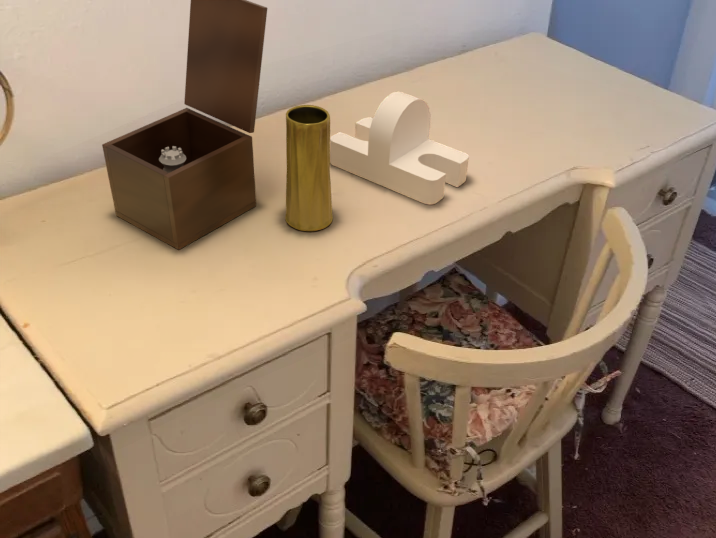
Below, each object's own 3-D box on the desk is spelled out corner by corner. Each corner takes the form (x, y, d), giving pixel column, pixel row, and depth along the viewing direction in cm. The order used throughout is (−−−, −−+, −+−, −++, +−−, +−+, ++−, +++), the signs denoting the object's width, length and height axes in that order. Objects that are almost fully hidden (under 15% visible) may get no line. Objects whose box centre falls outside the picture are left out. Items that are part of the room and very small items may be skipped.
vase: (322, 236, 105) (322, 130, 95) (277, 225, 106) (273, 120, 97) (339, 212, 109) (341, 108, 100) (296, 202, 111) (294, 99, 101)
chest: (178, 250, 102) (168, 177, 95) (115, 215, 106) (101, 144, 99) (256, 206, 110) (252, 136, 103) (194, 175, 114) (186, 107, 108)
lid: (263, 7, 94) (267, 7, 95) (191, -18, 99) (196, -18, 100) (249, 133, 102) (254, 132, 103) (184, 104, 107) (188, 103, 108)
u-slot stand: (431, 206, 112) (439, 130, 104) (326, 162, 119) (326, 88, 111) (469, 179, 117) (479, 105, 110) (367, 138, 125) (369, 67, 117)
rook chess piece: (190, 196, 109) (183, 139, 103) (202, 213, 106) (195, 155, 101) (157, 204, 107) (147, 146, 102) (168, 221, 104) (159, 163, 99)
